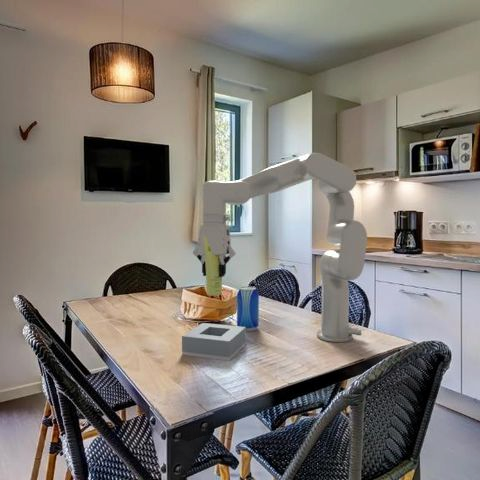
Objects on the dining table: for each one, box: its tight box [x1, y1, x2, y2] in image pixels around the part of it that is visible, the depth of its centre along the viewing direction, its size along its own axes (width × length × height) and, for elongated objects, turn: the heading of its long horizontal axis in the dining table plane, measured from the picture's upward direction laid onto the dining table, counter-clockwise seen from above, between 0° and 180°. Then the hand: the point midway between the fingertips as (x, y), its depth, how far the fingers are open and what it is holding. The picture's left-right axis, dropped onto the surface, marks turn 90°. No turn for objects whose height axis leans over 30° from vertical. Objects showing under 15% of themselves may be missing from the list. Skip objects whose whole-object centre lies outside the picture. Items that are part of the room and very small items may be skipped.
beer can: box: [236, 286, 260, 332], centre depth 152 cm, size 8×8×16 cm
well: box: [181, 322, 247, 362], centre depth 129 cm, size 16×16×6 cm
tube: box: [203, 235, 223, 297], centre depth 127 cm, size 6×5×20 cm
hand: (213, 275), depth 128 cm, fingers closed on tube, 5 cm apart
